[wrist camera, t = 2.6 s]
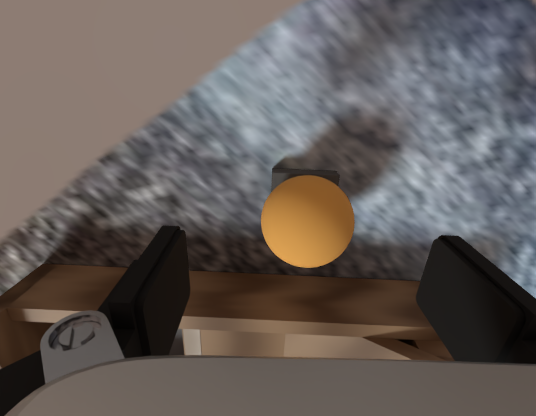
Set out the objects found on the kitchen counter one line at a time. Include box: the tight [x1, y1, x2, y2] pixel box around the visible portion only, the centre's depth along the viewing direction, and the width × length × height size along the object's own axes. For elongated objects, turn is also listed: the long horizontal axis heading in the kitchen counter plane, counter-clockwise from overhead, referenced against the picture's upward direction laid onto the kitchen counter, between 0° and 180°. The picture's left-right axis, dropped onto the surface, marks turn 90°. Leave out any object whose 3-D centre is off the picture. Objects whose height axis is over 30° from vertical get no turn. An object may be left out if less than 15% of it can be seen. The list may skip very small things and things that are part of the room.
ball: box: [261, 175, 354, 268], centre depth 16 cm, size 5×5×5 cm
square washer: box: [271, 168, 339, 192], centre depth 18 cm, size 4×4×1 cm
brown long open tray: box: [0, 264, 455, 369], centre depth 20 cm, size 28×10×7 cm, turn 88°
